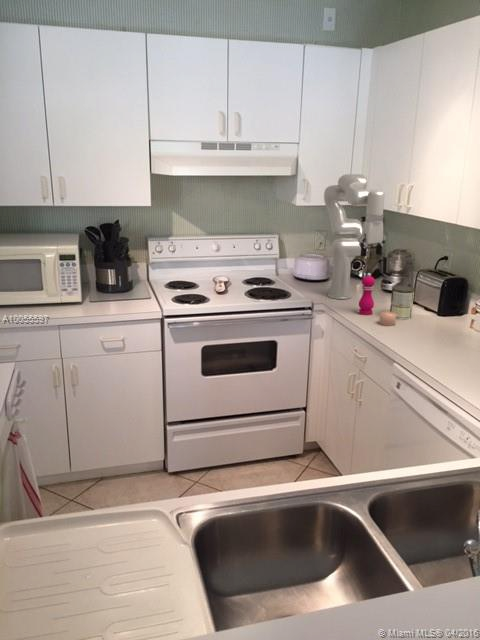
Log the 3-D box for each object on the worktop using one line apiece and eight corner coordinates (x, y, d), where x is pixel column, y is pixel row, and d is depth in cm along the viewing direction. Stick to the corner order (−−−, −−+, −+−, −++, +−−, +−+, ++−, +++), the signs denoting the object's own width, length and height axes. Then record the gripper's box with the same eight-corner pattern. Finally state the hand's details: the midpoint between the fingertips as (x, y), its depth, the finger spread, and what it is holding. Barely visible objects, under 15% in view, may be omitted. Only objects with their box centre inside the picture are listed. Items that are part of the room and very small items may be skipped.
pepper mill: (373, 315, 254) (377, 275, 248) (357, 314, 255) (361, 274, 249) (372, 311, 260) (376, 271, 254) (357, 310, 262) (361, 270, 256)
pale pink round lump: (376, 323, 244) (377, 312, 242) (386, 320, 247) (388, 310, 246) (387, 327, 238) (388, 316, 236) (398, 324, 241) (399, 314, 240)
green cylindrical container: (385, 313, 257) (388, 285, 253) (404, 312, 259) (407, 284, 255) (395, 320, 248) (398, 291, 243) (415, 319, 250) (419, 290, 246)
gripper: (381, 216, 251) (378, 252, 256) (354, 218, 243) (351, 255, 248) (393, 218, 245) (390, 255, 250) (366, 220, 237) (363, 258, 241)
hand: (371, 255), depth 249 cm, fingers open, 9 cm apart
